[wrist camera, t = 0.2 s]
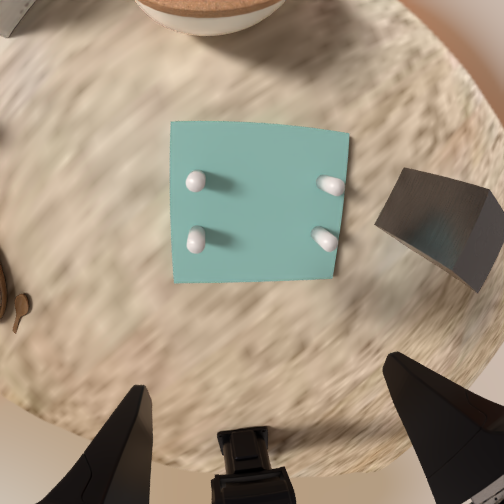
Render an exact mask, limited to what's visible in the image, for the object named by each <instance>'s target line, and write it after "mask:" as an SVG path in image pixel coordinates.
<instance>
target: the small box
mask: <svg viewBox="0 0 504 504" xmlns="http://www.w3.org/2000/svg"><path fill="white" fill-rule="evenodd" d="M35 1H36V0H0V36H2V37H5V38H8V37H9V35H10V34H11V32H12V31H13V30H14V28H15V27H16V25H17V24H18V23H19V21H20V20H21V19H22V17H23V16H24V15H25V13H26V12H27V11H28V9H29V8H30V7H31V6H32V4H33V3H34V2H35Z"/></svg>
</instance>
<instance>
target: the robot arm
mask: <svg viewBox="0 0 504 504" xmlns="http://www.w3.org/2000/svg"><path fill="white" fill-rule="evenodd" d="M383 375H384V378H385V380H386V383H387V386H388V389H389V392H390V395H391V398H392V400H393V403H394V405H395V407H396V410H397V412H398V414H399V416H400V418H401V420H402V423H403V425H404V427H405V429H406V431H407V434H408V436H409V438H410V440H411V443H412V445H413V447H414V449H415V452H416V454H417V456H418V459H419V461H420V463H421V466H422V468H423V471H424V473H425V475H426V478H427V481H428V483H429V486H430V488H431V491H432V494H433V496H434V499H435V502H436V504H462V503H463V502H465V501H467V500H468V499H470V498H471V500H472V502H471V503H470V504H504V406H502V405H499V404H497V403H494V402H492V401H490V400H487V399H485V398H483V397H481V396H479V395H477V394H474V393H473V392H471V391H469V390H467V389H464V388H463V387H462V386H460V385H458V384H456V383H454V382H452V381H451V380H449V379H447V378H445V377H443V376H442V375H440V374H438V373H436V372H434V371H433V370H431V369H429V368H427V367H425V366H424V365H422V364H420V363H418V362H416V361H415V360H413V359H411V358H409V357H407V356H406V355H404V354H402V353H400V352H393V353H389V354H388V356H387V358H386V361H385V363H384V366H383ZM217 438H218V442H219V445H220V449H221V452H222V455H223V456H224V460H225V468H226V475H219V474H217V475H215V478H214V479H212V480H211V488H212V504H296V497H295V493H294V489H293V487H292V484H291V482H290V479H289V476H288V474H287V471H286V469H285V466H284V467H280V468H276V469H272V468H271V464H270V460H269V456H268V452H267V449H268V430H267V427H259V428H252V429H245V430H236V431H227V432H219V433H217ZM152 447H153V428H152V401H151V397H150V395H149V392H148V390H147V388H146V386H145V385H134V386H133V387H132V388H131V389H130V391H129V392H128V393H127V395H126V396H125V397H124V399H123V400H122V401H121V403H120V404H119V405H118V407H117V408H116V409H115V411H114V412H113V413H112V415H111V416H110V417H109V419H108V420H107V421H106V423H105V424H104V426H103V427H102V428H101V430H100V431H99V432H98V434H97V435H96V436H95V438H94V439H93V440H92V442H91V443H90V445H89V446H88V447H87V449H86V450H85V451H84V454H82V455H81V457H80V458H79V460H78V461H77V462H76V463H75V465H74V466H73V467H72V469H71V470H70V471H69V472H68V473H67V474H66V476H65V477H64V478H63V479H62V480H61V481H60V482H59V483H58V484H57V485H56V486H55V487H54V488H53V489H52V490H51V492H49V493H48V494H47V495H46V497H44V498H43V499H42V500H41V501H39V502H38V503H36V504H149V494H150V474H151V460H152Z"/></svg>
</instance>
